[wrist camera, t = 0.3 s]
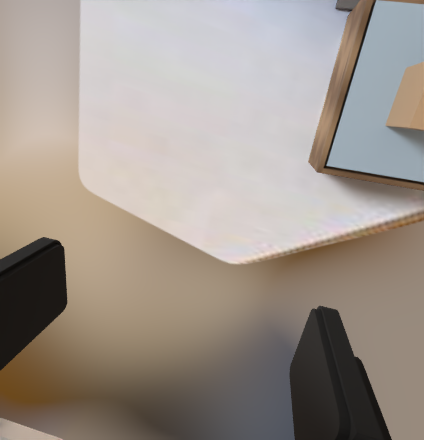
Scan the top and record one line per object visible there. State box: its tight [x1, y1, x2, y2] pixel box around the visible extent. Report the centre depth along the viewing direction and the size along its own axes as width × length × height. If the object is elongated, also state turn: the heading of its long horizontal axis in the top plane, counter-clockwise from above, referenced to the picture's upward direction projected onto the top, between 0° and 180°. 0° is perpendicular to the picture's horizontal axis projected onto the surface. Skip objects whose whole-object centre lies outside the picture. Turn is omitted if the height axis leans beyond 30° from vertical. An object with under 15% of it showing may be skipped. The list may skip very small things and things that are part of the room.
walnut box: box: [308, 0, 424, 191], centre depth 28 cm, size 16×14×7 cm
